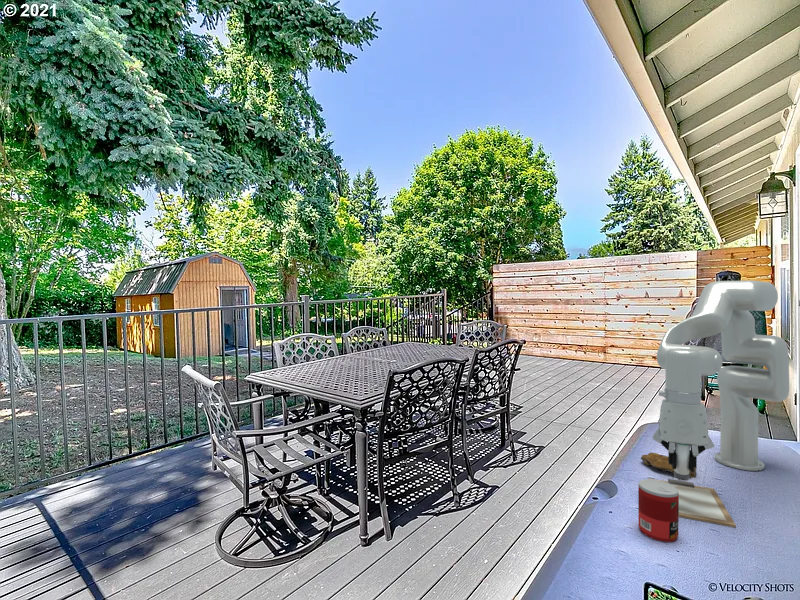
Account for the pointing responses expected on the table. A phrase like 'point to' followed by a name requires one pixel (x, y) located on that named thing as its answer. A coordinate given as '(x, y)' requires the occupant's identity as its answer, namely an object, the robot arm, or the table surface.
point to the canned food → (658, 510)
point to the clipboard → (700, 503)
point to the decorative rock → (662, 463)
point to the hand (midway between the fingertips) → (682, 467)
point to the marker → (682, 461)
